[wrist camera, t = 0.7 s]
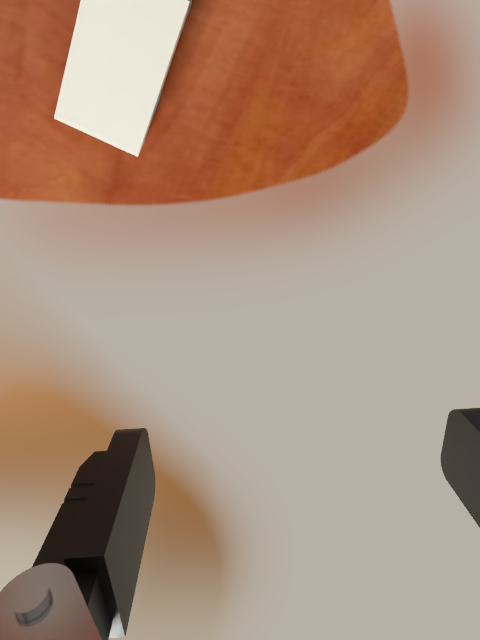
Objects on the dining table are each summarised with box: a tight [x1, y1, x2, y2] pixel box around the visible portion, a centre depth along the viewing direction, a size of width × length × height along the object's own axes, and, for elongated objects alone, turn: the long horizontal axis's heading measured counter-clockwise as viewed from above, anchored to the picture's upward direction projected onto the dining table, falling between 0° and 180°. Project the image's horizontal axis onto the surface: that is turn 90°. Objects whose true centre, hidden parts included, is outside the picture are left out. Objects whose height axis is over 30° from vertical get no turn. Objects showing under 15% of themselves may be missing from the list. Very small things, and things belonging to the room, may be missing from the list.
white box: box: [54, 0, 192, 157], centre depth 22 cm, size 5×8×6 cm, turn 154°
